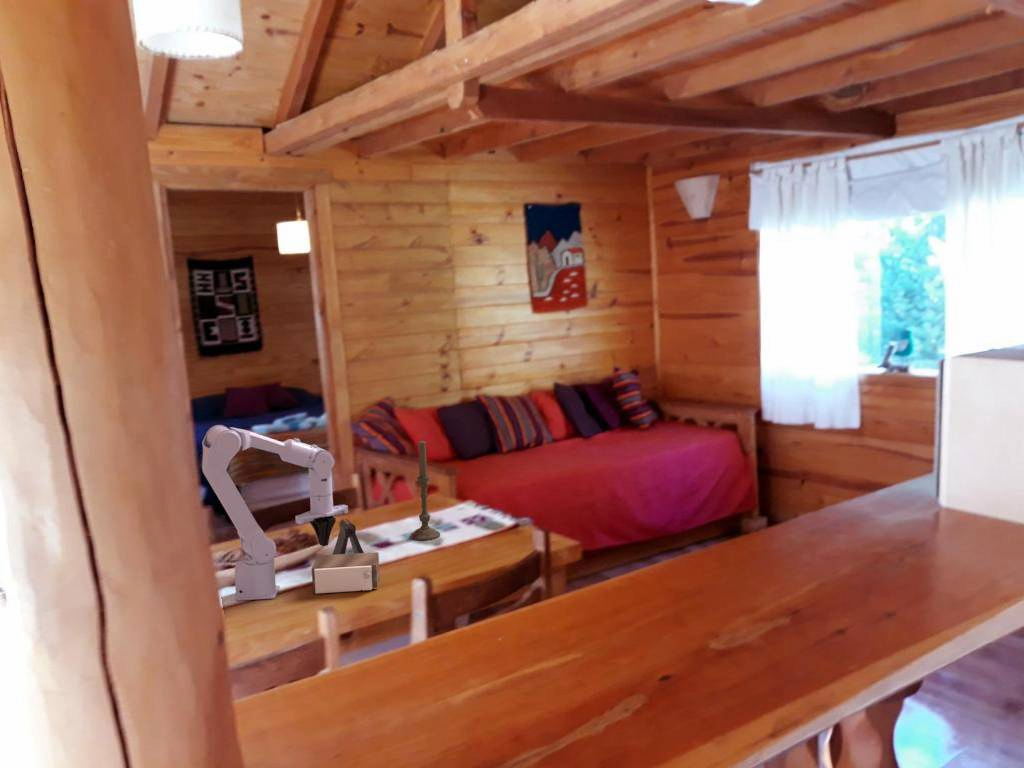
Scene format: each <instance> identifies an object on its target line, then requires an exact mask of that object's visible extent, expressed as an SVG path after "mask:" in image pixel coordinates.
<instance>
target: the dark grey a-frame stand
mask: <svg viewBox="0 0 1024 768" xmlns="http://www.w3.org/2000/svg"><path fill="white" fill-rule="evenodd" d="M338 524H339V531H338V535H337V539H336V542H335V545H334V549H333V553H332V555H336V554H346V551H347V547H348V542H349V541H350V543H351V548H352V550H353V554H355V553H365V552H364V550H363V548H362V546H361V543H360V541H359V539H358V536H357V533H356V532H357V531H356V529H357V528H356V526H355V524H354V523H352V522H351V521H350V520H349V519H347V518H345V520H344V519H341V520H340V521H339V523H338Z"/></svg>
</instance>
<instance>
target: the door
mask: <svg viewBox="0 0 1024 768" xmlns="http://www.w3.org/2000/svg"><path fill="white" fill-rule="evenodd" d="M314 574H315V592H316V593H315V594H327V593H342V592H343V593H345V592H359V591H361V590H362V591H373V590H372V568H371V565H370V566H354V567H338V568H322V569H315V570H314Z"/></svg>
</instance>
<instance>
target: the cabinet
mask: <svg viewBox="0 0 1024 768" xmlns="http://www.w3.org/2000/svg"><path fill="white" fill-rule="evenodd" d="M379 554H380V553H379V552H376V551H375V552H364V553H355V554H354V553H345V554H336V555H333V554H321V555H316V557H315V559H314V562H313V564H312V567H311V581H312V594H317V593H316V592H315V574H314V570H315V569H322V568H338V567H354V566H370V565H371V568H372V589H374V588H377V587H378V588H379V583H378V581H380V574H381V573H380V555H379Z"/></svg>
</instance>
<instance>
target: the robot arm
mask: <svg viewBox="0 0 1024 768" xmlns="http://www.w3.org/2000/svg"><path fill="white" fill-rule="evenodd" d="M250 448H254V449H259V450H263V451H266V452H268V453H269V452H270V453H274V454H278V456H279V457H280V459H281V460H282V461H283V462H286V463H289V464H293V465H296V466H300V467H303V468H308V486H309V500H310V501H309V502H310V510H309V511H308V510H307V511H306V512H304V513H301V514H298V515H295V524H297V525H303V524H305V523H309V524H311V527H312V528H313V530H314V532H315V535H316V537H317V540H318V544H319V545H320V546H321V547H326V546H328V545H329V543H330V537H331V533H332V531H333V528H334V525H335V524H336V522H337V518H336V517H334V516H336V515H342V514H348V513H349V506H348V505H346V504H339V505H334V499H333V497H334V495H333V480H332V479H333V478H332V477H333V476H332V469H333V468H334V466H335V463H336V460H335V459H334V456H333V454H332V453H331V452H330V451H328V450H326V449H323V448H321V447H319V446H318V445H316V444H313V443H312V444H307V443H306V442H305V443H304V442H301V439H299V438H296V437H294V438H293V439H291V438H288V439H286V440H284V441H281V440H280V441H279V440H278V439H273V438H271V437H268V436H265V435H262V434H259V433H256V432H254V431H251V430H247V429H243V428H238V427H237V428H236V427H231V426H230V427H229V428H228V427H227V426H225V425H223V424H216V425H213V426H212V427H210V428H209V429H208V430H207V431H206V434H205V436H204V437H203V440H202V465H201V466H202V467H201V468H202V469H201V470H202V473H203V475H204V477H205V478H206V480H207V481H208V483H209V485H210V486H211V488H212V490H213V492H214V493H215V495H216V496H217V499H218V500H219V501H220V504H221V505H222V507H223V509H224V510H225V512H226V514H227V515H228V517H229V519H230V520H231V523H232V524H233V525H234V527H235V528H236V530H237V535H238V536H239V540H240V547H241V549H242V551H243V552H245V555H244V558H243V560H238V561H236V562H235V565H234V585H235V601H252V600H269V599H275V598H276V596H277V593H278V592H279V590H280V588H281V586H280V585H276V582H277V581H276V570H275V567H276V566H275V555H276V553H277V545H276V542H275V541H274V540H273V539H272V538H270V537H268V536H267V535H266V534H265V532H264V530H263V529H262V527H260V525H259V524H258V522H257V521H256V519H255V517H254V516H253V514H252V512H251V509H249V508H248V505H247V504H246V502H245V500H244V499H243V497H242V495H241V493H240V492H239V490H238V488H237V487H236V485H235V483H234V482H233V480H232V478H231V476H230V474H229V472H228V471H227V470H228V467H229V465H230V462H231V460H232V459H233V458H234V457H235V455H236V454H237V453H238V452H239V451H240V450H241V451H245V450H247V449H250Z"/></svg>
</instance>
